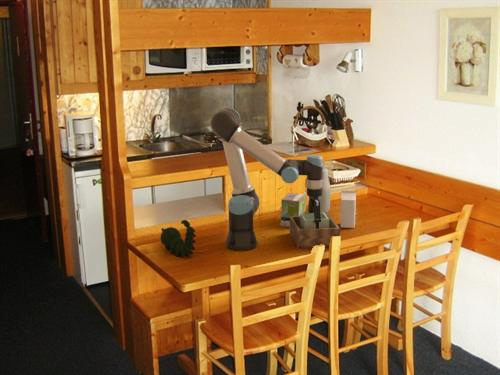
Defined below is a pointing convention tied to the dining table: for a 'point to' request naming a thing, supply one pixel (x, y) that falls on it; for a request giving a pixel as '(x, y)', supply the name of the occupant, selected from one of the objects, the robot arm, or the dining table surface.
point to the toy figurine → (178, 240)
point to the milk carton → (348, 209)
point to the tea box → (292, 207)
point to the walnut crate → (312, 233)
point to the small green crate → (308, 219)
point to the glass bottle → (325, 193)
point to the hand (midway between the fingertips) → (314, 231)
